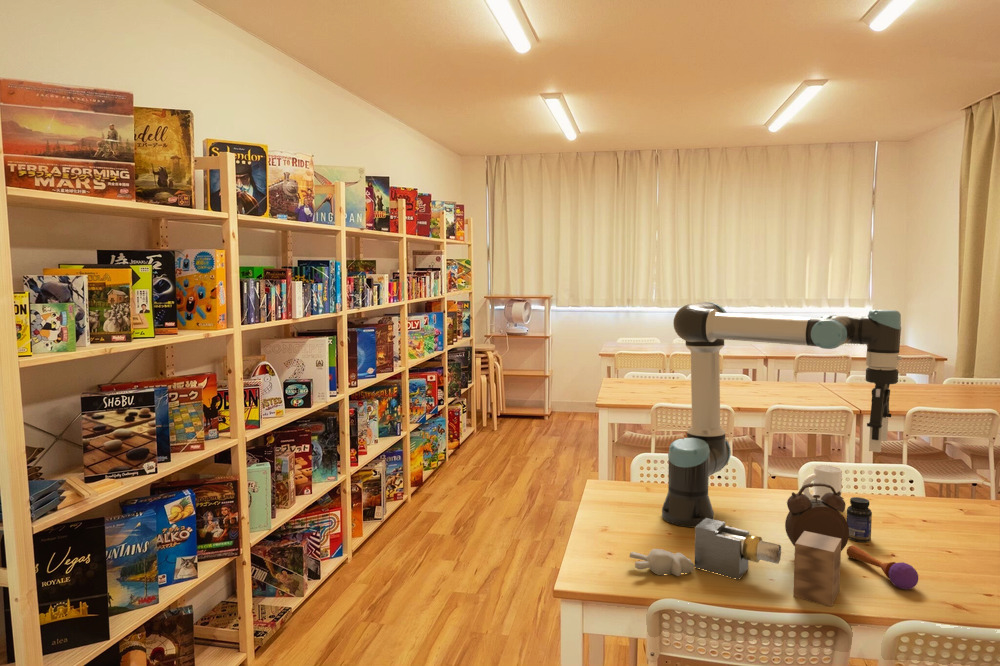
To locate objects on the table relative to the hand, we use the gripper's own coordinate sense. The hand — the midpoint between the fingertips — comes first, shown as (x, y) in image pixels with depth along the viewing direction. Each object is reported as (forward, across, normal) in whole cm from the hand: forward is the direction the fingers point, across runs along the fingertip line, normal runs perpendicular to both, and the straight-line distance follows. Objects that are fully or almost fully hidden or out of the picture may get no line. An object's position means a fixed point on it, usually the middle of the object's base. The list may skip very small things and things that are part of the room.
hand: (878, 446), depth 177 cm
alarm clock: (+28, -19, +11) cm, 35 cm away
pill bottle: (+27, +2, +4) cm, 28 cm away
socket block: (+27, -39, +7) cm, 48 cm away
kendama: (+28, -19, -4) cm, 34 cm away
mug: (+28, +24, +18) cm, 40 cm away
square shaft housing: (+27, -39, +29) cm, 56 cm away
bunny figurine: (+28, -49, +41) cm, 69 cm away
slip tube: (+23, -39, +25) cm, 52 cm away
